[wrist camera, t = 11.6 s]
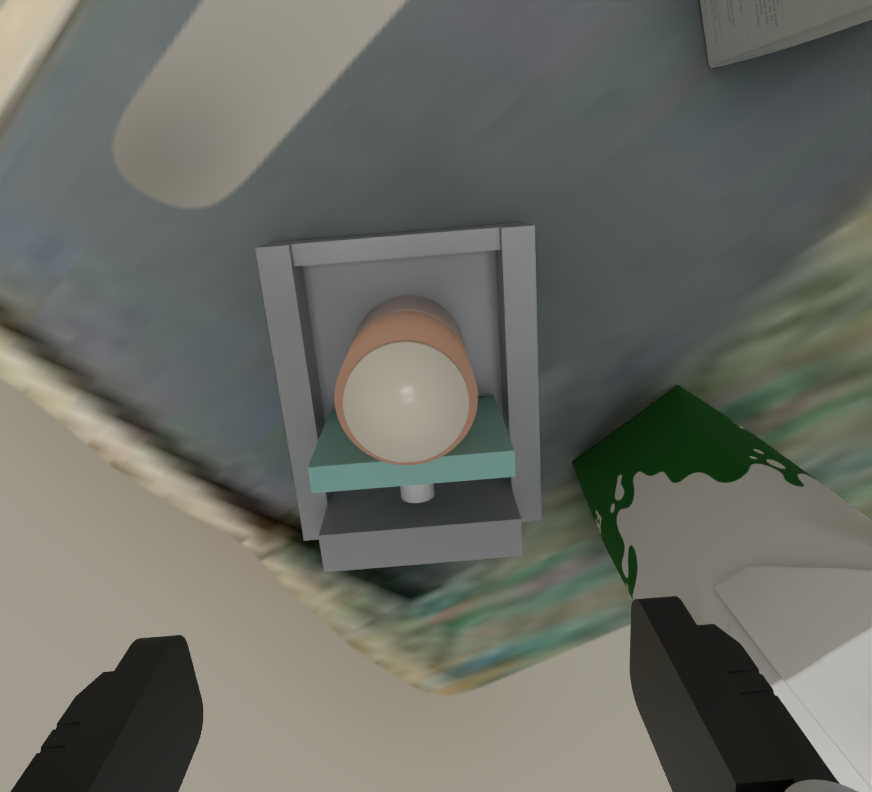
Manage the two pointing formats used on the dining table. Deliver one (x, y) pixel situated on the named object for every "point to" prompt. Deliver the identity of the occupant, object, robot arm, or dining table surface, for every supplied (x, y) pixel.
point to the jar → (406, 383)
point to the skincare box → (772, 25)
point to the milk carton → (747, 560)
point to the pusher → (470, 460)
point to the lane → (488, 354)
